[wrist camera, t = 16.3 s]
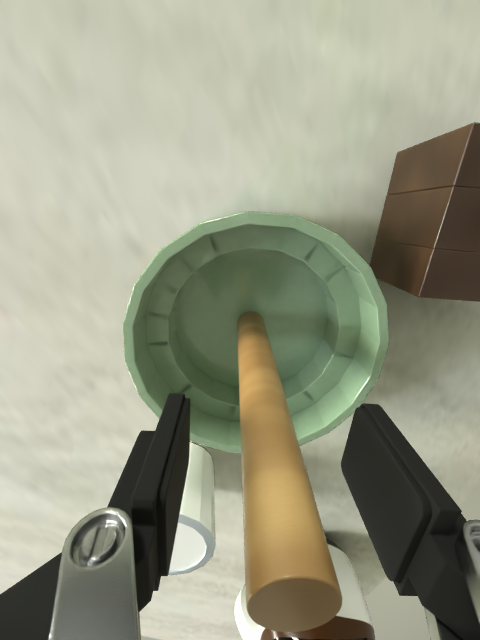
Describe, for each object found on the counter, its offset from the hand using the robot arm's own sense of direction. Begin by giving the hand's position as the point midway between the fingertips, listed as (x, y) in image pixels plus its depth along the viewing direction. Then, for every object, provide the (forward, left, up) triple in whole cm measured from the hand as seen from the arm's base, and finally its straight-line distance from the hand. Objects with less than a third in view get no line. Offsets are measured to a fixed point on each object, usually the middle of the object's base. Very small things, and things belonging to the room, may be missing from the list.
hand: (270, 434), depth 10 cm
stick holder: (-8, +12, -12) cm, 19 cm away
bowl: (0, 0, -12) cm, 12 cm away
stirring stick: (0, 0, -11) cm, 11 cm away
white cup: (+15, -5, -12) cm, 20 cm away
